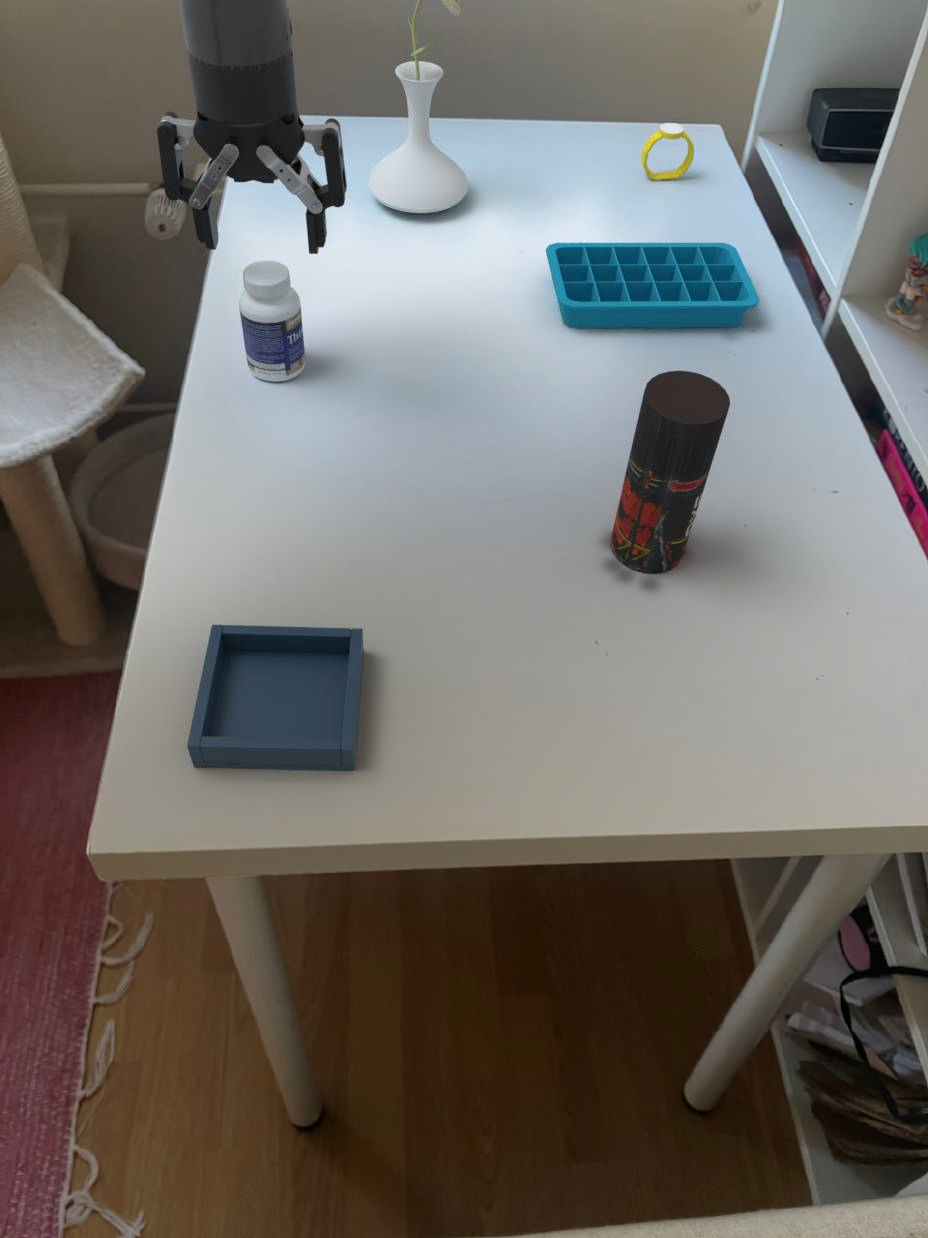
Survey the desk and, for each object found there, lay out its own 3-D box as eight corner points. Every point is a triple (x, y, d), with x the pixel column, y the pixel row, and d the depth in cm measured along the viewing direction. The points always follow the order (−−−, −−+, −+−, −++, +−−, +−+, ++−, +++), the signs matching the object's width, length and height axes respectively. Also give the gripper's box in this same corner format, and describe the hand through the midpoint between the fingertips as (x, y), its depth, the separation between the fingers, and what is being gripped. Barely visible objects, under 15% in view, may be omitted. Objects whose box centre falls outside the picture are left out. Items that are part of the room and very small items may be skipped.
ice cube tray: (754, 331, 101) (762, 305, 99) (556, 333, 99) (560, 306, 97) (726, 268, 108) (733, 242, 106) (541, 268, 107) (544, 242, 104)
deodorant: (614, 514, 83) (648, 364, 72) (686, 527, 83) (731, 378, 71) (606, 566, 79) (640, 416, 68) (681, 579, 79) (728, 430, 67)
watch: (684, 171, 122) (695, 121, 117) (690, 182, 120) (701, 132, 116) (636, 172, 121) (645, 122, 117) (641, 183, 120) (651, 133, 115)
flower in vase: (467, 226, 112) (480, -30, 92) (364, 221, 111) (356, -36, 92) (468, 169, 120) (480, -76, 101) (372, 164, 120) (366, -82, 100)
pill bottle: (302, 385, 92) (293, 291, 85) (244, 382, 92) (229, 288, 85) (309, 350, 96) (301, 256, 88) (252, 347, 96) (239, 253, 88)
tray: (193, 767, 66) (186, 746, 64) (217, 646, 73) (211, 624, 71) (354, 771, 67) (352, 749, 65) (363, 650, 73) (362, 628, 71)
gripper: (127, 56, 70) (170, 268, 82) (333, 65, 70) (345, 274, 83) (149, 14, 74) (186, 220, 87) (342, 23, 75) (351, 227, 87)
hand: (264, 246), depth 85 cm, fingers open, 8 cm apart
